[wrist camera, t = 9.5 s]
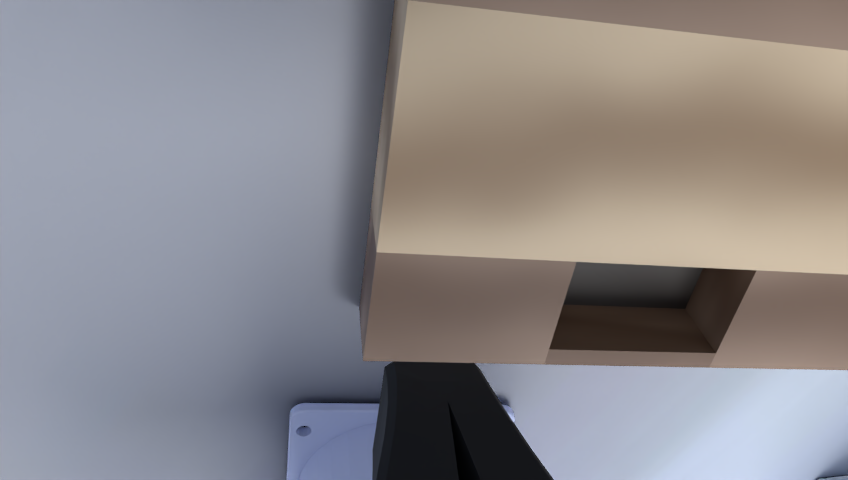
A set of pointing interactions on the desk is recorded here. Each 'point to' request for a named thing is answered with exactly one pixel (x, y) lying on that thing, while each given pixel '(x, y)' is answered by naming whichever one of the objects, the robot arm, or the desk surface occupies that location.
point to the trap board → (612, 185)
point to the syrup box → (836, 478)
